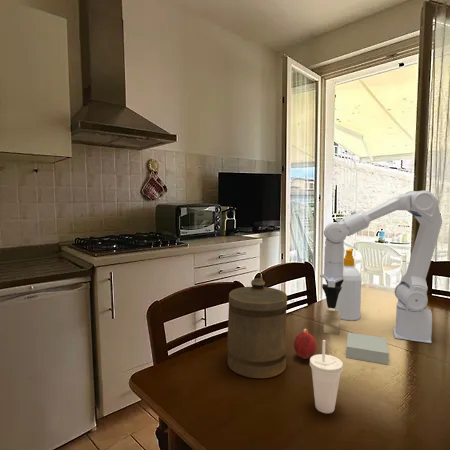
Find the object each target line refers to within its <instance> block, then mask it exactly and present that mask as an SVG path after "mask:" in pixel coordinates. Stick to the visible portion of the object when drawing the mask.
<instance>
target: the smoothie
mask: <svg viewBox="0 0 450 450" xmlns="http://www.w3.org/2000/svg"><path fill="white" fill-rule="evenodd" d="M321 348H322V350H321V354H320V353H319V354H313V355H312V356H311V357H309V367H310V368H311V375H312V377H311V378H312V386H313V397H314V406H315V408H316V410H317V411H318V412H321V413H323V414H332V413H333V412H335V409H336V408H335V407H336V403H337V397H338V393H339V392H338V391H339V385H340V379H341V373H342V372H343V370H344V363H343V361H342V360H341V359H339V358H338V357H336V356H334V355H330V354H326V340H325V339H322V347H321Z"/></svg>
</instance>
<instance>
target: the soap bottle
mask: <svg viewBox="0 0 450 450" xmlns="http://www.w3.org/2000/svg"><path fill="white" fill-rule="evenodd" d="M353 252H354V248H349V249H345V255H344V264H343V276H344V281H343V283H342V285H341V287H342V289H341V291H340V292H339V295H338V299H337V303H336V307H335V309H334V311H340V320H344V321H358V320H360V318H361V304H362V302H361V301H362V300H361V299H362V298H361V297H362V276H361V272H360V271H359V269H357V267H356V266H355V258H354V256H353Z"/></svg>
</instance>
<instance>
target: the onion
mask: <svg viewBox="0 0 450 450" xmlns="http://www.w3.org/2000/svg"><path fill="white" fill-rule="evenodd" d="M308 330H309V329H307V328H304V329H303V331H302V332H301V333H300V332H299V334H298V335H296V337H295V338H294V341H293V349H294V351H295V353H296V354H297V355H298V356H299V357H300V358H301V359H302V360H307V359H308V358H309V359H310V358H311V357H312V356H314V355H315V353H316V351H317V346H318V345H317V342H316V340H315V338H314V336H313V335H312V334H311V333H309V331H308Z"/></svg>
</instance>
